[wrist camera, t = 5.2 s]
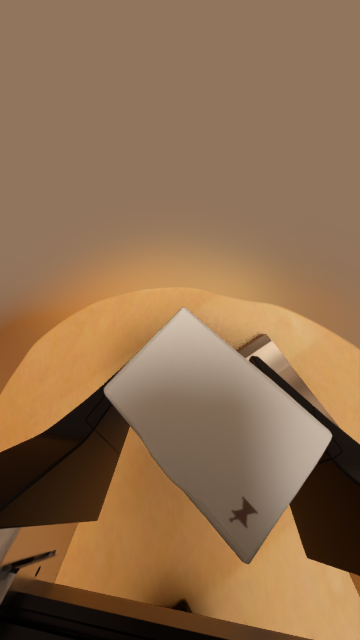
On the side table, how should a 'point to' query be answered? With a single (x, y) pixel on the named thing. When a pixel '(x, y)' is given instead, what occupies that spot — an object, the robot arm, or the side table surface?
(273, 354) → the bent metal bracket plate
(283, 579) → the side table surface
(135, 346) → the side table surface
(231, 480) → the skincare box
